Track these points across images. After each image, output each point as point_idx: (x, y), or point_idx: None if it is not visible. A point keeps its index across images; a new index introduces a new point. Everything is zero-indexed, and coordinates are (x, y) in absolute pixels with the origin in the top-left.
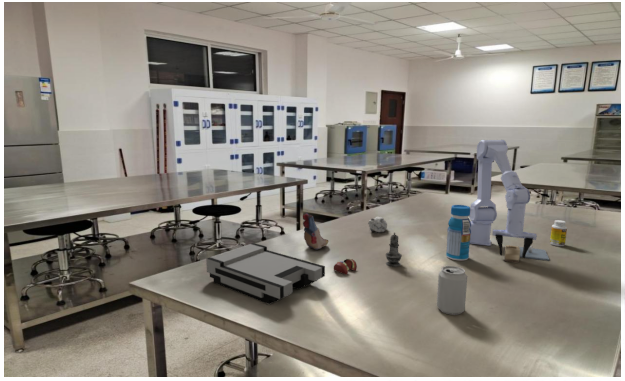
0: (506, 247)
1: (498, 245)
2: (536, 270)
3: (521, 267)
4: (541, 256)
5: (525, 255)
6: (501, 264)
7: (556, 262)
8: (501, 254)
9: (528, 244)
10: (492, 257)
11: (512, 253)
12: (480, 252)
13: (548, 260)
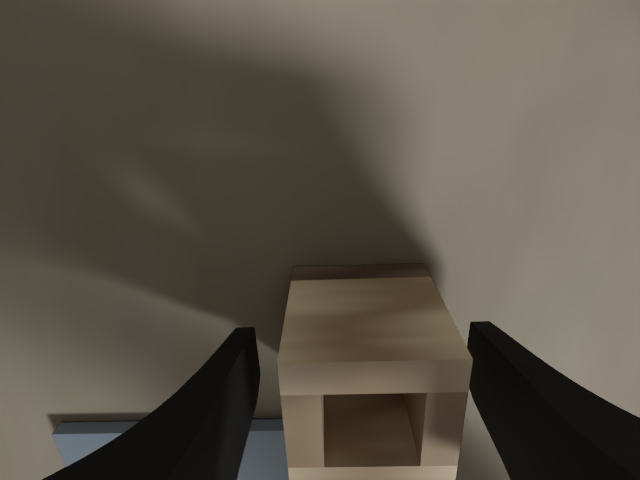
0: (460, 403)
1: (599, 398)
2: (110, 108)
3: (265, 139)
4: None
5: None
6: (474, 146)
7: (4, 408)
8: (479, 325)
9: (120, 458)
10: (531, 327)
11: (370, 321)
12: None
13: (64, 424)
